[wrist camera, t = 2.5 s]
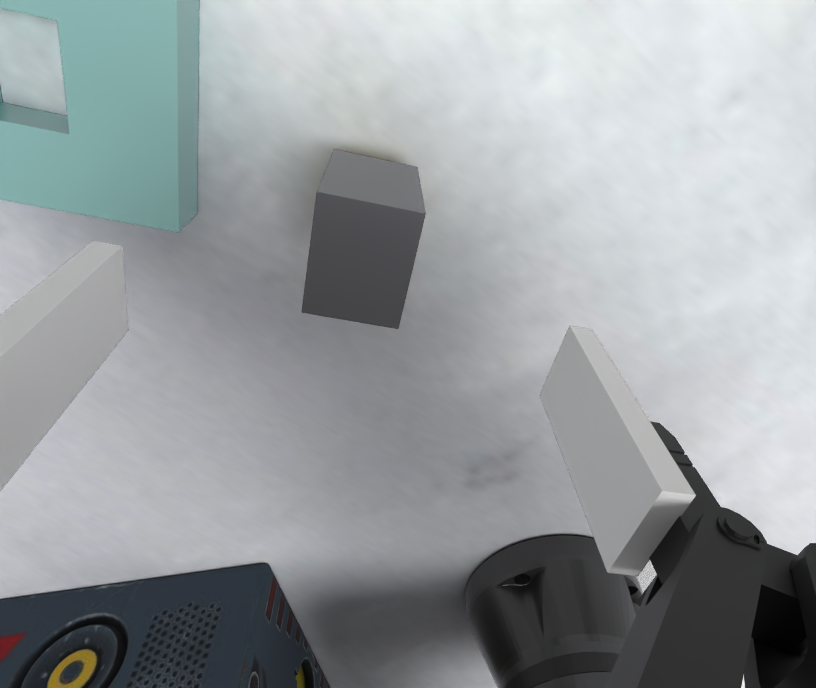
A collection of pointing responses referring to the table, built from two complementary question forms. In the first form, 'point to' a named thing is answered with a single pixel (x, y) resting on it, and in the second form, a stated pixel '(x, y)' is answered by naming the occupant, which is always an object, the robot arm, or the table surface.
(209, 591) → the power unit
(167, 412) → the table surface
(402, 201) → the plug
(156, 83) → the socket plate
